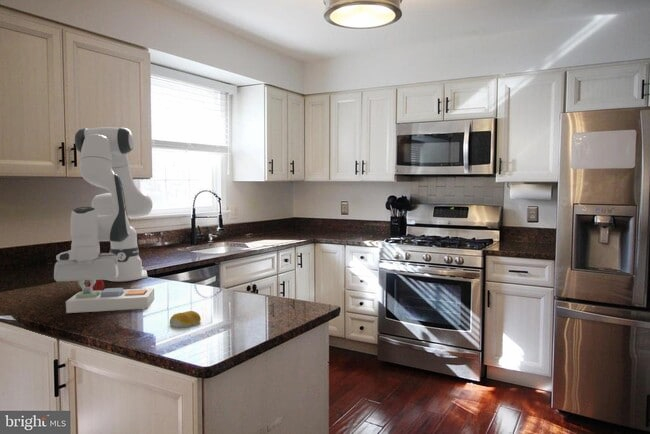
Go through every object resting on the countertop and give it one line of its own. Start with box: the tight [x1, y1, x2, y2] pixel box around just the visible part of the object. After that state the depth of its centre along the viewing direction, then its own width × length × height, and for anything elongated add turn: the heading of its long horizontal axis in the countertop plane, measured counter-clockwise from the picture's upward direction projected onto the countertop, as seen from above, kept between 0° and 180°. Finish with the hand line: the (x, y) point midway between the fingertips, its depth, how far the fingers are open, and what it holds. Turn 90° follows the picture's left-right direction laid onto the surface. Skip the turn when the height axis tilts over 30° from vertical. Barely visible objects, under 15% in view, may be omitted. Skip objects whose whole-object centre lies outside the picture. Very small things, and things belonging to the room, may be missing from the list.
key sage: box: [76, 290, 100, 298], centre depth 164 cm, size 6×6×3 cm
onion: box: [86, 280, 105, 291], centre depth 180 cm, size 6×6×8 cm
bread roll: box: [169, 310, 202, 329], centre depth 144 cm, size 8×9×4 cm
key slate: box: [101, 287, 124, 297], centre depth 166 cm, size 6×6×3 cm
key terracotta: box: [125, 288, 147, 296], centre depth 167 cm, size 6×6×3 cm
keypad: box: [65, 287, 155, 314], centre depth 166 cm, size 14×26×4 cm, turn 101°
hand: (87, 292), depth 164 cm, fingers closed, pressing on key sage
